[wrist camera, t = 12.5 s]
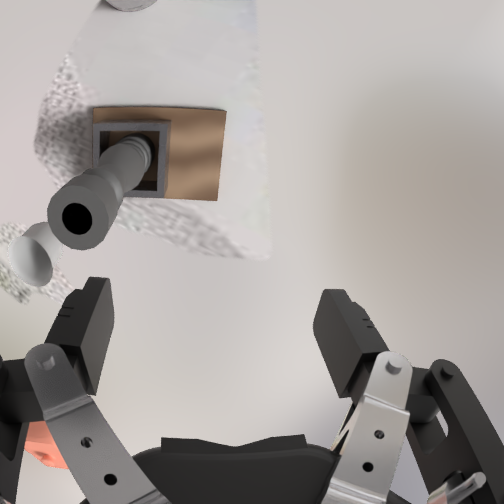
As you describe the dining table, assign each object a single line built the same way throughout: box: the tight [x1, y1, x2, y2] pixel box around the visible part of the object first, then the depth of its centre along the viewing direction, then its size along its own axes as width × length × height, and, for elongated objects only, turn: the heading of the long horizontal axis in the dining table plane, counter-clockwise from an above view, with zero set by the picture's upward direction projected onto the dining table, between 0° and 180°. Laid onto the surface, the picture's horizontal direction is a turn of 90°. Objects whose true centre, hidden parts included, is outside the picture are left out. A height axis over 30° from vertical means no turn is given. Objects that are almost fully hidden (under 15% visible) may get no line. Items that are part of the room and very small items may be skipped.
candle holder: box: [47, 133, 156, 250], centre depth 34 cm, size 6×6×25 cm
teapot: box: [24, 421, 69, 469], centre depth 70 cm, size 25×23×18 cm
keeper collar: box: [93, 119, 172, 198], centre depth 43 cm, size 10×10×5 cm
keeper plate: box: [92, 107, 227, 201], centre depth 46 cm, size 14×20×2 cm
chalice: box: [8, 222, 63, 287], centre depth 41 cm, size 7×7×18 cm
